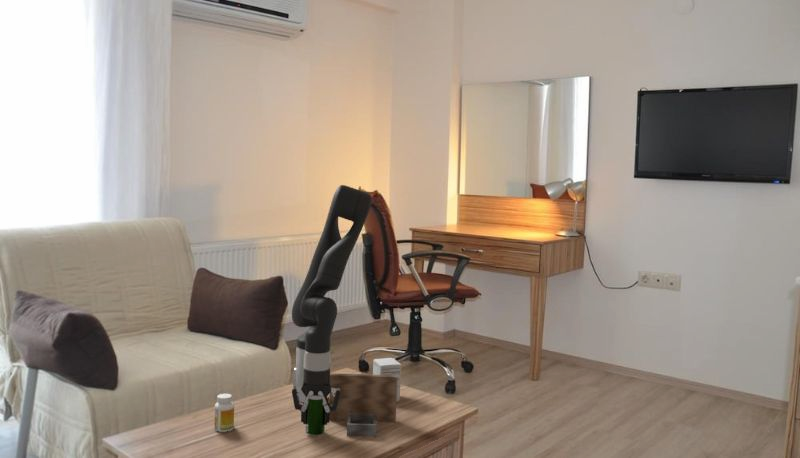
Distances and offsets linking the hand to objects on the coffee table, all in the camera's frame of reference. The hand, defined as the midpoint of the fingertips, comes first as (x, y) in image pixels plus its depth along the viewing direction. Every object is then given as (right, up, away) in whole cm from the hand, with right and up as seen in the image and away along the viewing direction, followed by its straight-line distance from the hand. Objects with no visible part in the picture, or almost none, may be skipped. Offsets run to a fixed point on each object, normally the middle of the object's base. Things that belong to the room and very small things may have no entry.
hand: (315, 423), depth 195 cm
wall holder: (+13, -3, +6) cm, 14 cm away
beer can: (0, -3, 0) cm, 3 cm away
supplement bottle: (-26, -2, +1) cm, 26 cm away
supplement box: (+19, -1, +31) cm, 36 cm away
